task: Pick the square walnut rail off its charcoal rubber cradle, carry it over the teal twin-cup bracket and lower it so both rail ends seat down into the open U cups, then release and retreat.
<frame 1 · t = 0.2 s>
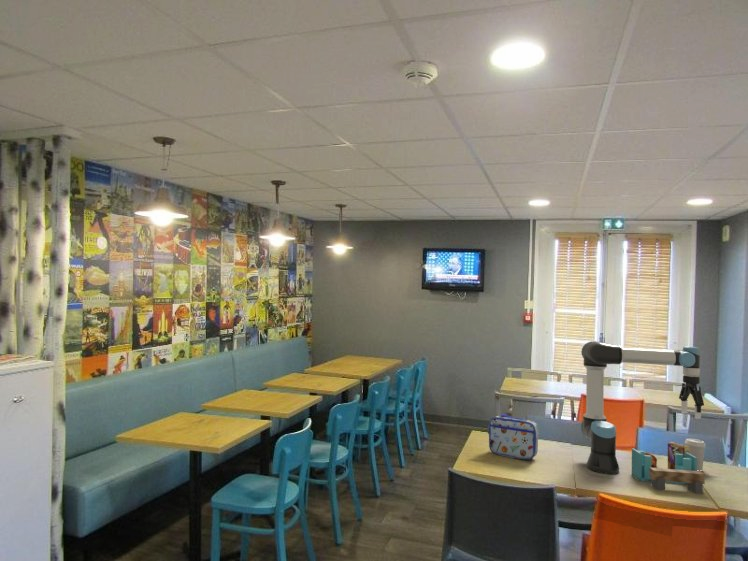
hand: (690, 415, 262), 28 cm above the table, fingers open, 13 cm apart
bracket: (663, 479, 240), on the table
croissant: (646, 464, 266), on the table
candy box: (678, 475, 250), on the table
coffee cup: (694, 469, 260), on the table
rests: (676, 489, 227), on the table
lunch box: (511, 456, 270), on the table
rail: (676, 480, 228), point 4 cm above the table, touching rests
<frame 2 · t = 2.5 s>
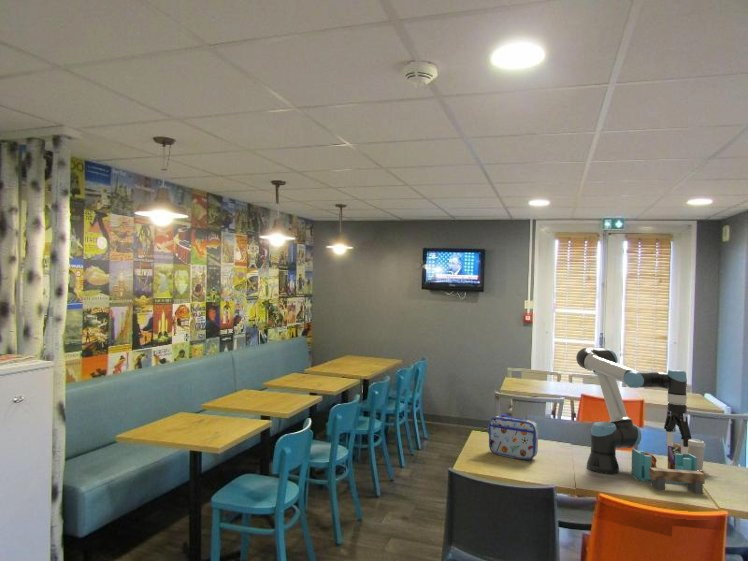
hand: (677, 449, 228), 18 cm above the table, fingers open, 13 cm apart
nothing on the table moved.
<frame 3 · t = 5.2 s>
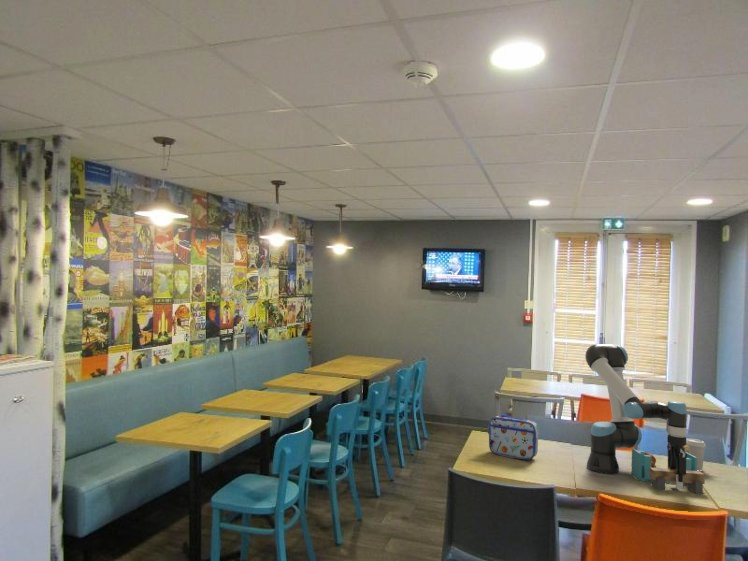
hand: (676, 486, 228), 1 cm above the table, fingers closed on rail, 4 cm apart
rail: (676, 480, 228), point 4 cm above the table, touching gripper, rests
everything else where it was.
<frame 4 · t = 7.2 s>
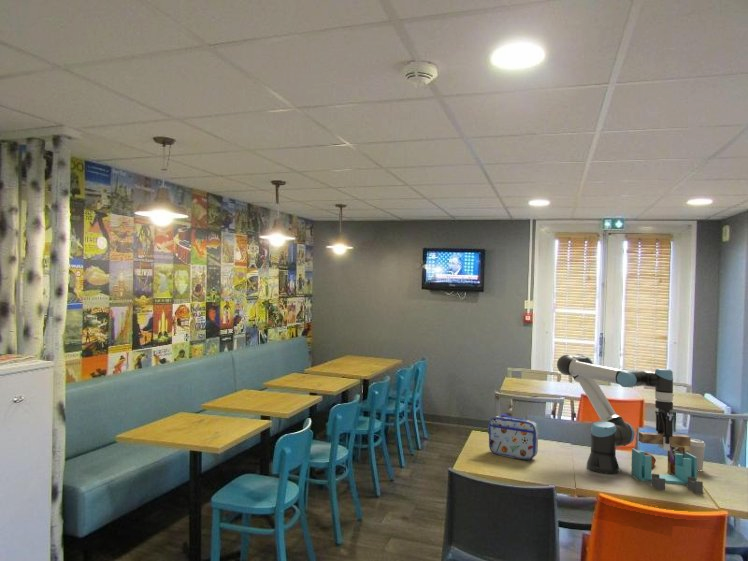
hand: (664, 448, 241), 15 cm above the table, fingers closed on rail, 4 cm apart
rail: (664, 443, 241), point 18 cm above the table, touching gripper
everything else where it was.
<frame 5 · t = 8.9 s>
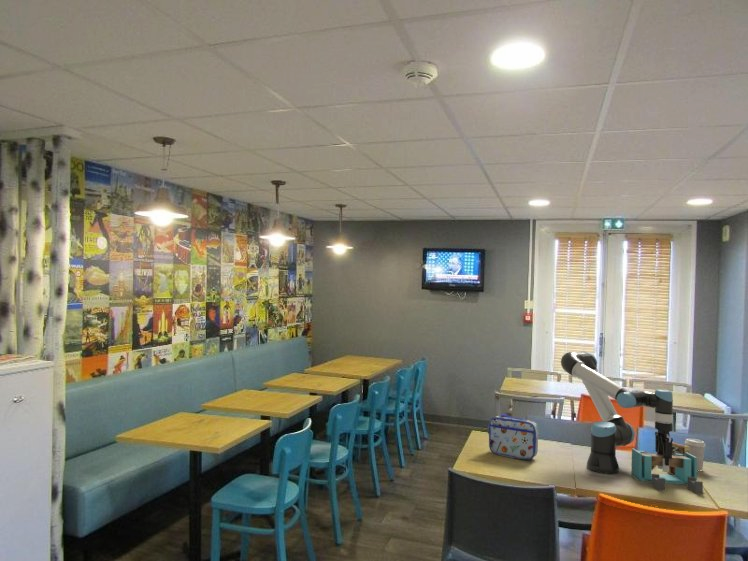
hand: (663, 470, 241), 5 cm above the table, fingers closed on rail, 4 cm apart
rail: (663, 465, 241), point 7 cm above the table, touching gripper
everything else where it was.
when the fingers open (5 cm above the table, at t = 9.4 s): rail stays where it is, resting on bracket.
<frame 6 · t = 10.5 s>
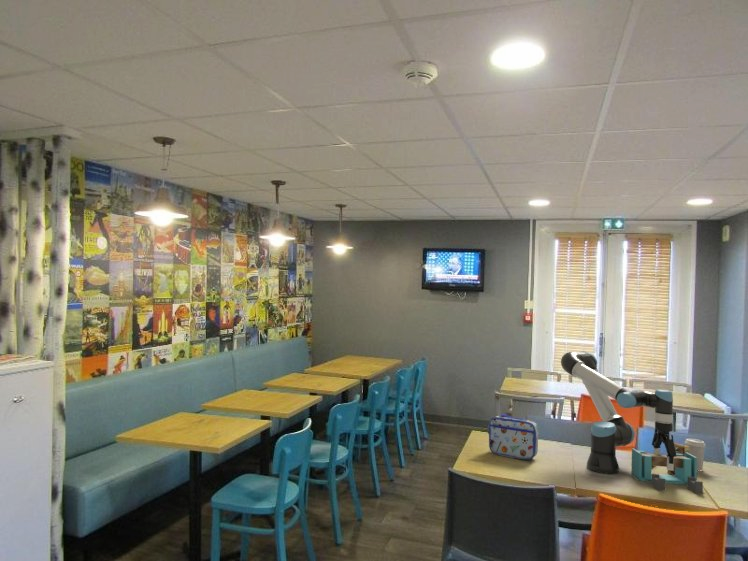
hand: (663, 465, 241), 7 cm above the table, fingers open, 13 cm apart
rail: (663, 465, 241), point 7 cm above the table, touching bracket
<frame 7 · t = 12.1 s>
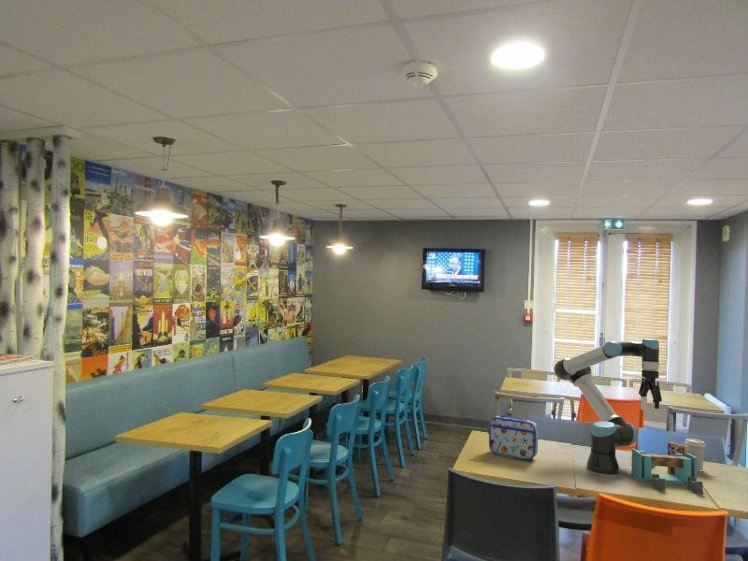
hand: (649, 412, 247), 31 cm above the table, fingers open, 13 cm apart
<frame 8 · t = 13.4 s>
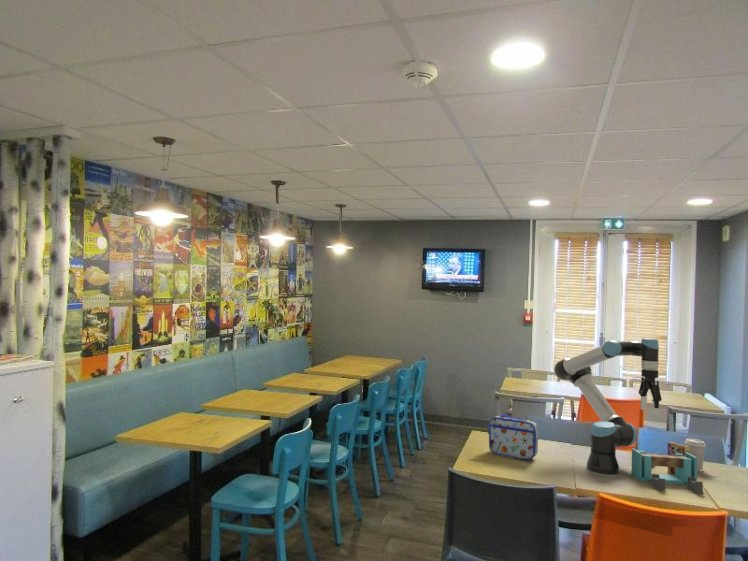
hand: (649, 411, 247), 32 cm above the table, fingers open, 13 cm apart
at the end: rail 0.0 cm off-centre on the bracket, point 7.0 cm above the bracket's base; the gripper is holding nothing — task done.
